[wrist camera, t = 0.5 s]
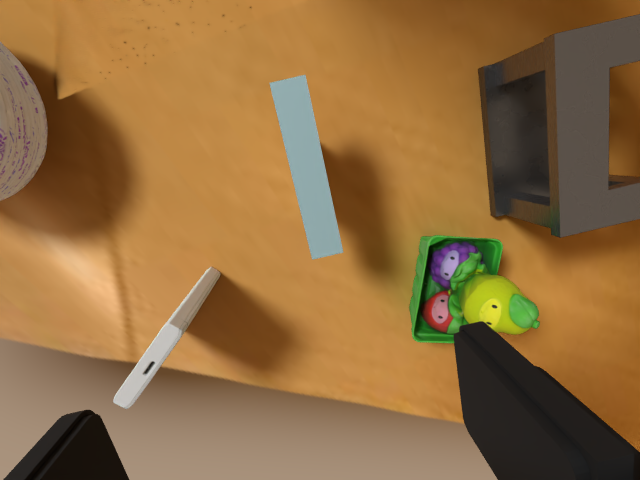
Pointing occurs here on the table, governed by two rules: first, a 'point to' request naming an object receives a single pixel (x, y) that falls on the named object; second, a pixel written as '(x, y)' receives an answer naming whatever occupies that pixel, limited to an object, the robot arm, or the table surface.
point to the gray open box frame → (558, 130)
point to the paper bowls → (19, 126)
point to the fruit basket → (465, 290)
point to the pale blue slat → (307, 165)
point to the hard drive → (166, 340)
